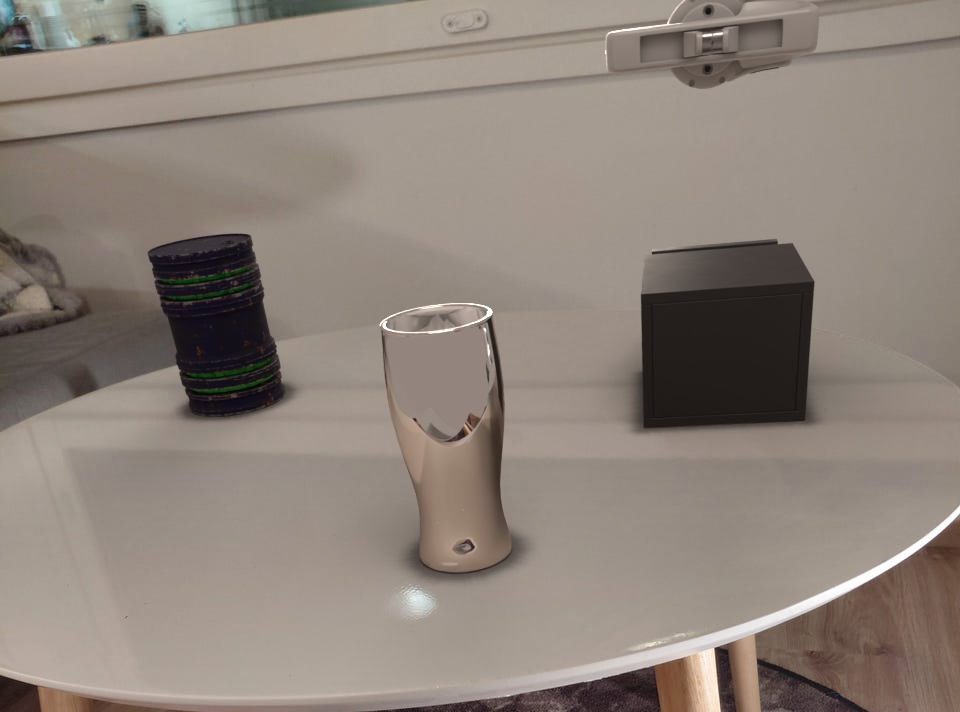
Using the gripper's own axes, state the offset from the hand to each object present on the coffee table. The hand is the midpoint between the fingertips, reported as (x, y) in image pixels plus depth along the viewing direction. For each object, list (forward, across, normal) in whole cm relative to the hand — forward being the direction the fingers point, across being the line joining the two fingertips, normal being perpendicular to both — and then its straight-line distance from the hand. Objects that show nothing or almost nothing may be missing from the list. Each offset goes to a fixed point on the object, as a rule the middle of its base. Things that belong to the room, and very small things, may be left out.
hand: (712, 42), depth 90 cm
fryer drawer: (+13, 0, +25) cm, 28 cm away
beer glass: (+52, -17, +26) cm, 60 cm away
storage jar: (+17, -47, +26) cm, 56 cm away
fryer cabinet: (+23, 0, +26) cm, 35 cm away
